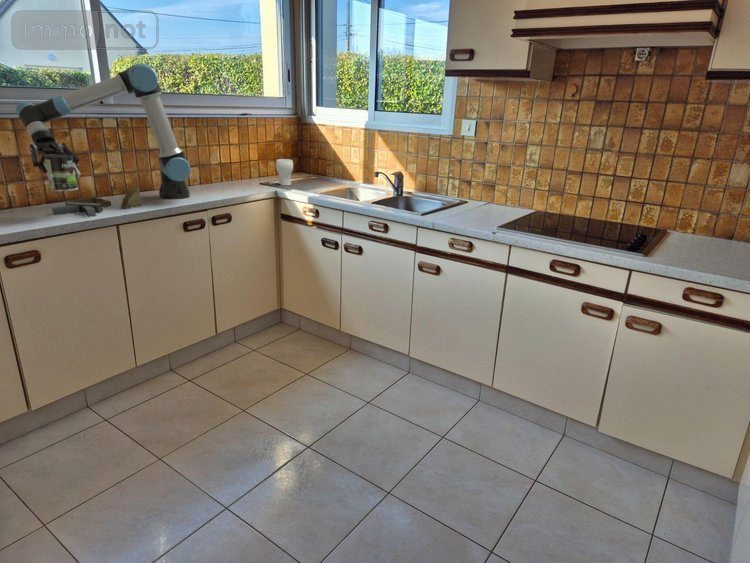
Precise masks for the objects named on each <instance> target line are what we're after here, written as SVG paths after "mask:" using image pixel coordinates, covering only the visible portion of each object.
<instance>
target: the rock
mask: <svg viewBox="0 0 750 563" xmlns="http://www.w3.org/2000/svg"><path fill="white" fill-rule="evenodd" d="M140 195H141V191H140V188H139V187H138V186H137V185H136V186H131V187H130V188H129V187H128V189H126V192H125V195H124V198H123V200H122V201H121V202H122V203H121V206H120V209H123V210H128V209H127V208H129V209H132V208H131V207H134V208H138V207H141V206H142V204H141V203H142V201H141V198H140V197H141V196H140ZM137 206H138V207H137Z"/></svg>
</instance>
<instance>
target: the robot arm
mask: <svg viewBox="0 0 750 563" xmlns="http://www.w3.org/2000/svg"><path fill="white" fill-rule="evenodd" d="M132 93H133V94H134V96H135V98H136V99H137V100H139V101H140V102H141V105H142V108H143V110H144V112H145V113H144V114H145V115H146V118H147V120H148V123H149V125H150V128H151V131H152V133H153V137H154V139H155V140H156V143H157V146H158V149H159V151H160V152H158V158H157V159H158V163H159V165H158V166H159V173H160V181H161V182H160V187H159V191H158V197H159V198H160V199H167V200H175V199H176V200H177V199H185V198H186V199H187V198H189V197H190V196H191V192H190V190H189V187H188V185H187V183H186V179H188V178H189V177H190V176H191V172H192V171H191V170H192V169H191V165H190V163H189V161H188V160H187V157H186V155H185V153H184V150H183V149H182V148H180V147H179V145H178V143H177V139H176V137H175V134H174V131H173V129H172V127H171V123H170V121H169V118H168V115H167V112H166V110H165V107H164V105H163V101H162V99H161V96H162V93H163V91H162V89H161V86H160V84H159V76H158V74H157V72H156V71H155V69H154V68H153V67H151V66H150V65H148V64H145V63H140V62H139V63H136V64H133V65H132V66H130V67H128V68H127V69H125V70H123V71H121V72H117V73H116V76H113V77H111V78H108V79H105V80H102V81H100V82H96V83H93V84H91V85H88V86H83V87H82V88H81V87H80V88H79V89H76V90H72V91H70V92H68V93H65V94H62V95H59V96H56V97H53V98H49V99H47V100H46V101H43V102H40V103H38V104H34V103H33V102H31V101H27V102H24V101H22V102H19V104H17V105H16V108H15V111H16V114H17V116H18V118H19V120H20V121H21V123H22V124H23V127H24V128H25V130H26V132H27V133H28V135H29V137H30V139H31V140H32V142H33V143H34V144H32V143H30V144H29V146H28V150H29V151H30V153H31V160H32V166H33V168H34V167H35V168H36V167H38V169H39V170H41V172H42V173H43V174H45V175H46V176H47V179H48V178H49V180H50V181H52V179H53V175H52V173H51V171H50V170H49V168H48V166H47V164H46V163H45V158H44V156H45V155H55V154H66V155H73V162H74V168H75V174H76V179H80V177H81V172H80V171H79V169H80V167H79V166H78V164H79V161H80V159H79V157H77V155H75V154H74V152H72V150H70V148H68V146H67V144H66V143H65V142H62V144H61V143H57V142H56V140H55V138H54V136H53V135H52V133H51V131H50V129H49V128H48V126H47V124H46V123H48V122H50V121H53V120H56V119H59V118H62V117H65V116H67V115H69V114H71V113H72V112H74V111H76V110H77V111H78V110H81V109H82V108H86V107H88V106H91V105H93V104H98V103H100V102H102V101H106V100H108V99H111V98H113V97H117V96H120V95H122V94H127V95H129V94H132ZM37 150H38V151H40V152H41V154H40V159H38V154H37ZM38 160H39V161H38ZM49 180H48V181H49Z"/></svg>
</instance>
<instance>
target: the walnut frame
mask: <svg viewBox="0 0 750 563" xmlns="http://www.w3.org/2000/svg"><path fill="white" fill-rule="evenodd" d="M64 202H65V203H64V204H65V205H66V203H69V202H76V203H95V204H102V207H103V208H109V207H108V206H110V207H112V201H111V200H108V199H105V198H100V197H97V196H93V197H84V198H78V199H70V200H64Z"/></svg>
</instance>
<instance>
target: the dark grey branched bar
mask: <svg viewBox="0 0 750 563" xmlns="http://www.w3.org/2000/svg"><path fill="white" fill-rule="evenodd" d="M103 208H104V207H103ZM103 208H102V204H95V203H76V202H69V203H66V204H65V205H60V206H59V205H58V206H57V205H56V206H51V210H52V214H53V215H54V216H58V214H59V215H67V213H69V214H77V213H76V212H79V213H83V214H84V213H85V214H84V215H85V216H87V217H88V218H91V217H96V216H97V214H99V213H100V214H101V213H103V212H102V211H104V209H103ZM96 213H97V214H96ZM90 216H91V217H90Z"/></svg>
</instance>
